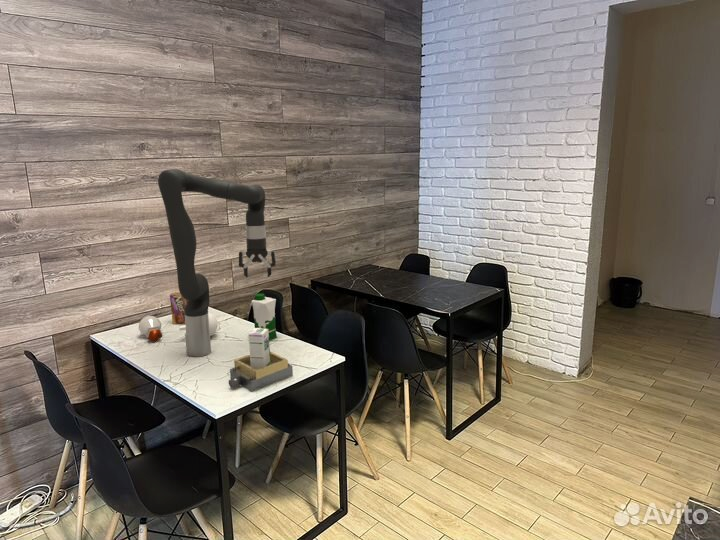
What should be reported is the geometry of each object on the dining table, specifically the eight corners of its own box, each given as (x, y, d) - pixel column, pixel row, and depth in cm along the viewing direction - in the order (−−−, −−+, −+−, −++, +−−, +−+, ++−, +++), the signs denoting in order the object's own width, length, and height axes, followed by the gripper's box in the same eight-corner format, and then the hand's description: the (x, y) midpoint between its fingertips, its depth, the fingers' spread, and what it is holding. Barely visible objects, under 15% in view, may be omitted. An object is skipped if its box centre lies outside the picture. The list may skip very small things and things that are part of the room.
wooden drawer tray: (242, 395, 172) (240, 377, 171) (220, 382, 182) (219, 364, 180) (292, 375, 188) (292, 358, 186) (270, 364, 197) (269, 348, 196)
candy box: (193, 321, 246) (191, 291, 242) (189, 324, 242) (187, 294, 238) (176, 321, 247) (173, 291, 243) (172, 324, 242) (169, 294, 239)
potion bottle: (151, 334, 233) (159, 348, 222) (132, 326, 227) (139, 340, 215) (162, 317, 234) (170, 330, 222) (143, 309, 227) (151, 322, 216)
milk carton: (264, 333, 231) (262, 291, 226) (279, 337, 226) (278, 294, 221) (251, 339, 223) (249, 296, 219) (266, 343, 219) (264, 299, 214)
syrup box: (265, 371, 182) (263, 333, 179) (250, 370, 183) (248, 332, 180) (270, 364, 188) (269, 328, 184) (255, 363, 189) (253, 327, 185)
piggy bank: (222, 337, 230) (191, 338, 231) (221, 311, 231) (190, 313, 232) (211, 339, 217) (178, 340, 219) (210, 312, 218) (177, 313, 220)
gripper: (236, 238, 191) (238, 279, 195) (273, 238, 193) (275, 278, 196) (238, 235, 199) (241, 274, 202) (275, 234, 200) (276, 274, 204)
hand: (258, 276), depth 199 cm, fingers open, 8 cm apart
